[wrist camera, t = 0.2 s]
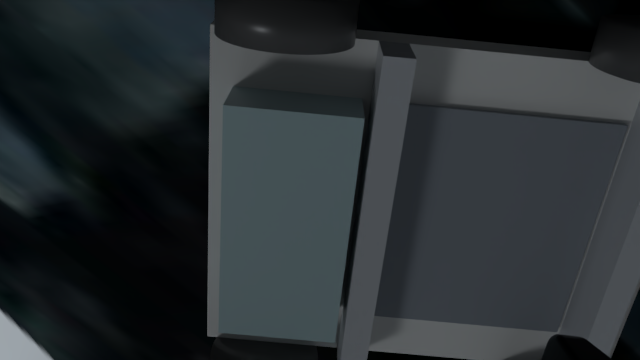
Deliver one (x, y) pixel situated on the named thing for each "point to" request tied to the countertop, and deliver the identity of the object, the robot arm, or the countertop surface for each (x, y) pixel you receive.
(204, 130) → the countertop surface
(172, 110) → the countertop surface
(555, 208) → the chassis
